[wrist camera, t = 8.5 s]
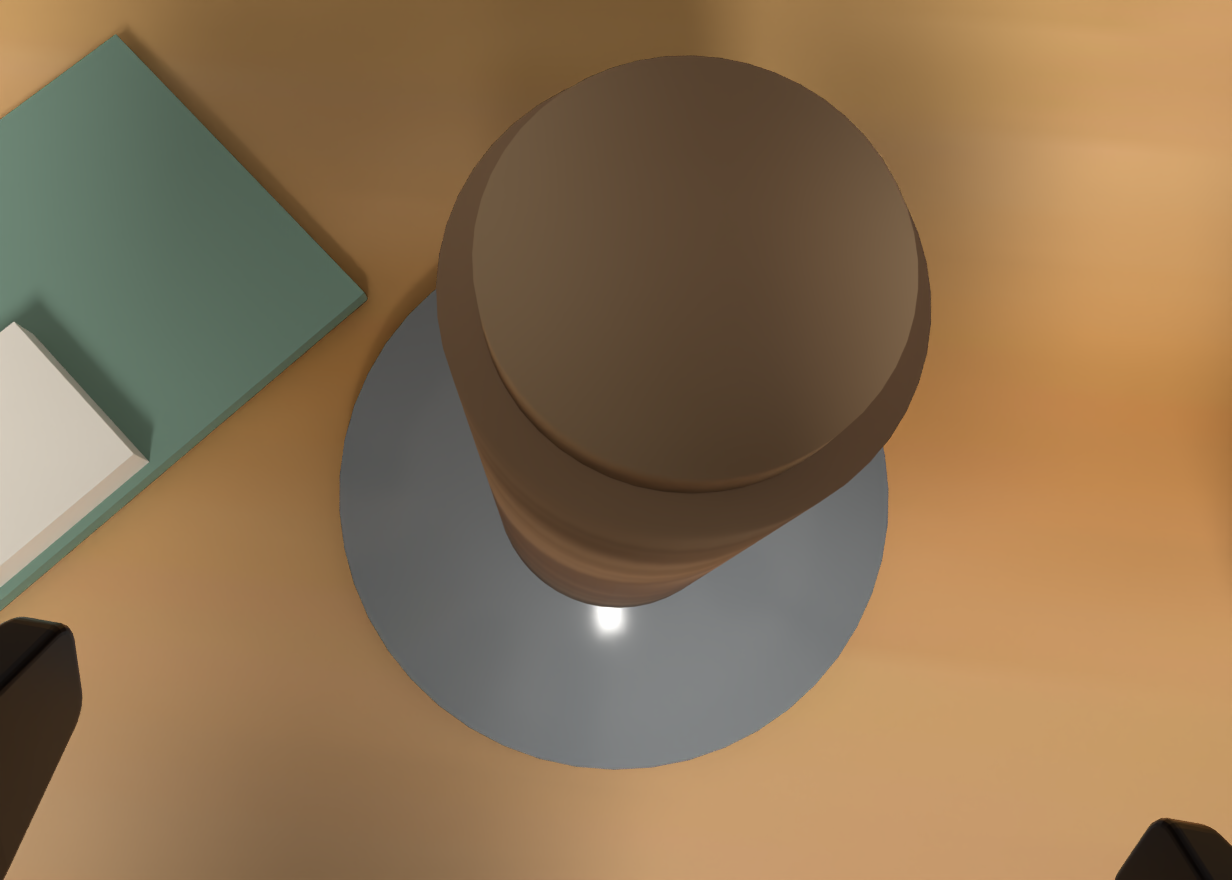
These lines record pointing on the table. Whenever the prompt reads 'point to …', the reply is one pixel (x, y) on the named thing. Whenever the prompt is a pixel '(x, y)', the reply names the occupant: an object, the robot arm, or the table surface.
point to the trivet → (566, 628)
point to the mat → (131, 299)
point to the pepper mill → (676, 319)
